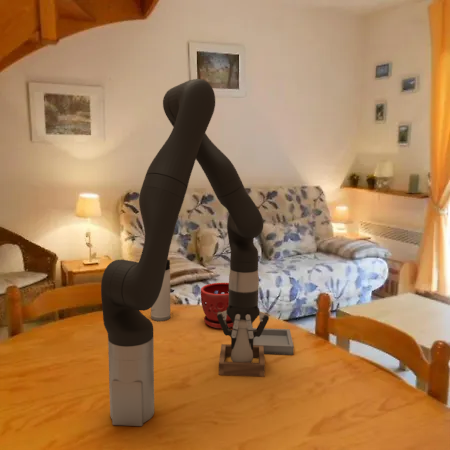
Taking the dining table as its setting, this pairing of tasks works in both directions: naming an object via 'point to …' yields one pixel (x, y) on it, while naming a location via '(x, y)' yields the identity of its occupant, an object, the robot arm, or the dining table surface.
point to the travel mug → (163, 299)
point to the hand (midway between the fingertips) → (242, 350)
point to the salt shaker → (242, 344)
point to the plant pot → (215, 303)
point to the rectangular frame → (242, 363)
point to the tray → (275, 341)
